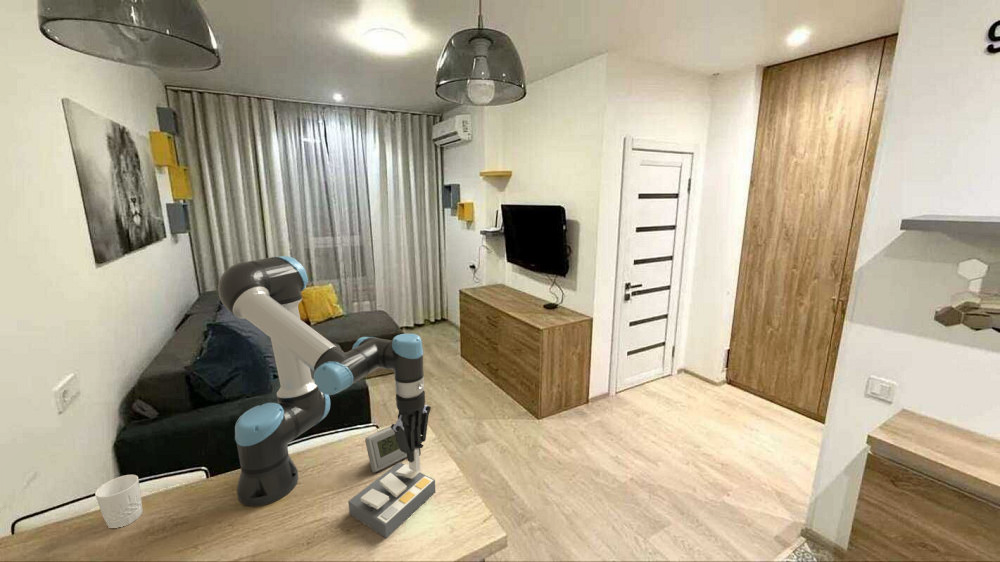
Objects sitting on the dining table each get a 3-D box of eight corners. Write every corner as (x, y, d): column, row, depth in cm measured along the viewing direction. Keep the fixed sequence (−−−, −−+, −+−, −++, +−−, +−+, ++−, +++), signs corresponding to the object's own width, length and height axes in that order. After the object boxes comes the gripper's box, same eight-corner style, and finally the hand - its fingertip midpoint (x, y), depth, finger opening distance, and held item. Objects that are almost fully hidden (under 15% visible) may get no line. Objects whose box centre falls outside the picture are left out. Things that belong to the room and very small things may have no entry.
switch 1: (361, 503, 100) (360, 497, 100) (373, 493, 103) (372, 488, 103) (378, 511, 97) (377, 505, 96) (389, 501, 100) (388, 496, 100)
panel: (349, 514, 102) (348, 499, 101) (400, 473, 117) (399, 460, 116) (386, 538, 95) (385, 522, 94) (435, 492, 110) (434, 478, 109)
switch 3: (396, 477, 110) (395, 471, 110) (406, 469, 113) (405, 464, 113) (412, 480, 106) (411, 475, 106) (422, 472, 110) (420, 467, 109)
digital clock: (371, 476, 116) (368, 445, 114) (363, 459, 123) (361, 429, 121) (422, 457, 124) (421, 428, 122) (412, 442, 132) (411, 414, 129)
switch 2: (379, 485, 105) (379, 480, 104) (389, 476, 108) (390, 472, 107) (395, 499, 102) (396, 494, 101) (406, 490, 105) (406, 485, 105)
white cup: (144, 502, 106) (137, 470, 104) (146, 518, 100) (138, 485, 98) (103, 518, 101) (95, 485, 98) (103, 537, 95) (94, 502, 93)
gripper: (402, 406, 96) (407, 488, 101) (437, 385, 106) (440, 460, 112) (381, 398, 100) (387, 477, 105) (417, 378, 110) (421, 451, 115)
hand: (414, 468), depth 108 cm, fingers closed
